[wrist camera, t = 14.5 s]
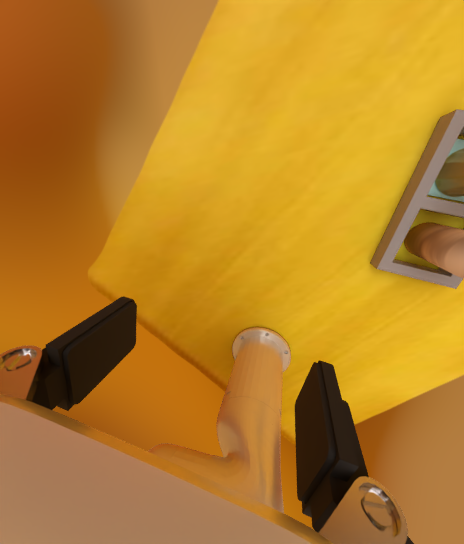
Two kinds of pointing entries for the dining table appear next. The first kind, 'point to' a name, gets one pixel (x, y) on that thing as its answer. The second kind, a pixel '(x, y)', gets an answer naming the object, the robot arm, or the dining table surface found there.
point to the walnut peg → (438, 246)
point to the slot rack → (424, 203)
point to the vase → (452, 175)
